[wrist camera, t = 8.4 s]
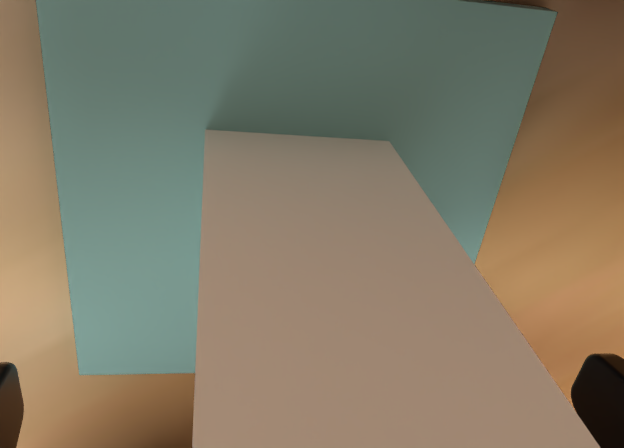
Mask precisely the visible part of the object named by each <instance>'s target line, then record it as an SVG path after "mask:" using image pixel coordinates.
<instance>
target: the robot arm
mask: <svg viewBox="0 0 624 448" xmlns="http://www.w3.org/2000/svg"><path fill="white" fill-rule="evenodd" d="M571 399H572V403H573V405H574V408H575V410H576V413H577V414H578V416H579V417H580V419H581V420H582V422H583V423H584V425H585V426H586V427H587V429H588V430H589V432H590V433H591V435H592V436H593V438H594V439H595V441H596V442H597V443H598V445H599V446H600V448H624V359H623V358H621V357H620V356H618V355H615V354H591V355H590V356H588V357H587V358H586V360H585V362H584V364H583V366H582V368H581V370H580V372H579V374H578V376H577V378H576V380H575V382H574V384H573V386H572V389H571ZM23 412H24V404H23V398H22V393H21V388H20V383H19V377H18V372H17V369H16V367H15V365H14V364H12V363H9V362H4V363H0V448H16V446H17V442H18V437H19V433H20V429H21V424H22V420H23Z"/></svg>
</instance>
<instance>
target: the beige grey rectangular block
mask: <svg viewBox="0 0 624 448" xmlns="http://www.w3.org/2000/svg"><path fill="white" fill-rule="evenodd" d="M192 448H600V446H599V445H598V443H597V442H596V441H595V439H594V438H593V436H592V435H591V433H590V432H589V430H588V429H587V427H586V426H585V425H584V423H583V422H582V420H581V419H580V417H579V416H578V414H577V413H576V411H575V410H574V409H573V407H572V406H571V404H570V403H569V401H568V400H567V398H566V397H565V396H564V394H563V393H562V391H561V390H560V388H559V387H558V385H557V384H556V382H555V381H554V380H553V378H552V377H551V375H550V374H549V372H548V371H547V369H546V368H545V367H544V365H543V364H542V362H541V361H540V359H539V358H538V356H537V355H536V353H535V352H534V351H533V349H532V348H531V346H530V345H529V343H528V342H527V340H526V339H525V337H524V336H523V335H522V333H521V332H520V330H519V329H518V327H517V326H516V324H515V323H514V322H513V320H512V319H511V317H510V316H509V314H508V313H507V311H506V310H505V308H504V307H503V306H502V304H501V303H500V301H499V300H498V298H497V297H496V295H495V294H494V293H493V291H492V290H491V288H490V287H489V285H488V284H487V282H486V281H485V279H484V278H483V277H482V275H481V274H480V272H479V271H478V269H477V268H476V266H475V265H474V263H473V262H472V261H471V259H470V258H469V256H468V255H467V253H466V252H465V250H464V249H463V248H462V246H461V245H460V243H459V242H458V240H457V239H456V237H455V236H454V234H453V233H452V232H451V230H450V229H449V227H448V226H447V224H446V223H445V221H444V220H443V219H442V217H441V216H440V214H439V213H438V211H437V210H436V208H435V207H434V205H433V204H432V203H431V201H430V200H429V198H428V197H427V195H426V194H425V192H424V191H423V190H422V188H421V187H420V185H419V184H418V182H417V181H416V179H415V178H414V176H413V175H412V174H411V172H410V171H409V169H408V168H407V166H406V165H405V163H404V162H403V160H402V159H401V158H400V156H399V155H398V153H397V152H396V150H395V149H394V147H393V146H392V145H391V143H390V142H389V141H380V140H364V139H348V138H331V137H315V136H299V135H283V134H267V133H251V132H235V131H219V130H205V143H204V168H203V193H202V217H201V242H200V267H199V291H198V316H197V341H196V365H195V390H194V414H193V439H192Z"/></svg>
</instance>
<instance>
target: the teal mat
mask: <svg viewBox="0 0 624 448" xmlns="http://www.w3.org/2000/svg"><path fill="white" fill-rule="evenodd" d="M36 7H37V15H38V24H39V32H40V41H41V50H42V58H43V67H44V75H45V84H46V93H47V101H48V110H49V119H50V127H51V136H52V144H53V153H54V162H55V170H56V179H57V188H58V196H59V205H60V213H61V222H62V231H63V239H64V248H65V256H66V265H67V274H68V282H69V291H70V300H71V308H72V317H73V325H74V334H75V343H76V351H77V360H78V368H79V375H117V374H170V373H195V365H196V341H197V316H198V291H199V267H200V242H201V217H202V193H203V168H204V143H205V130H219V131H235V132H251V133H267V134H283V135H299V136H315V137H331V138H348V139H364V140H380V141H389V142H390V143H391V145H392V146H393V147H394V149H395V150H396V152H397V153H398V155H399V156H400V158H401V159H402V160H403V162H404V163H405V165H406V166H407V168H408V169H409V171H410V172H411V174H412V175H413V176H414V178H415V179H416V181H417V182H418V184H419V185H420V187H421V188H422V190H423V191H424V192H425V194H426V195H427V197H428V198H429V200H430V201H431V203H432V204H433V205H434V207H435V208H436V210H437V211H438V213H439V214H440V216H441V217H442V219H443V220H444V221H445V223H446V224H447V226H448V227H449V229H450V230H451V232H452V233H453V234H454V236H455V237H456V239H457V240H458V242H459V243H460V245H461V246H462V248H463V249H464V250H465V252H466V253H467V255H468V256H469V258H470V259H471V261H472V262H473V263H474V264H475V261H476V258H477V255H478V252H479V249H480V246H481V243H482V240H483V237H484V234H485V230H486V227H487V224H488V221H489V218H490V215H491V212H492V209H493V206H494V203H495V200H496V197H497V194H498V191H499V188H500V185H501V182H502V179H503V176H504V173H505V170H506V167H507V164H508V161H509V158H510V155H511V152H512V149H513V146H514V143H515V140H516V137H517V134H518V131H519V128H520V125H521V122H522V118H523V115H524V112H525V109H526V106H527V103H528V100H529V97H530V94H531V91H532V88H533V85H534V82H535V79H536V76H537V73H538V70H539V67H540V64H541V61H542V58H543V55H544V52H545V49H546V46H547V43H548V40H549V37H550V34H551V31H552V28H553V25H554V22H555V19H556V16H557V13H558V12H556V11H553V10H550V9H548V8H544V7H536V6H527V5H519V4H510V3H502V2H494V1H485V0H36Z"/></svg>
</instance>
